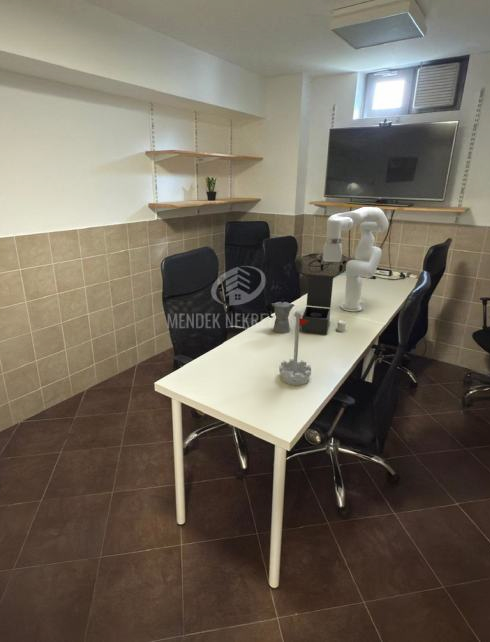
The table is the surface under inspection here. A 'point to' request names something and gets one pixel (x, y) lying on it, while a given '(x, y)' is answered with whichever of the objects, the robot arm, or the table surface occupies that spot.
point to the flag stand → (295, 360)
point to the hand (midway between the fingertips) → (331, 271)
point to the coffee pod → (341, 325)
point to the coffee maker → (316, 320)
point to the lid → (319, 290)
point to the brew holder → (315, 315)
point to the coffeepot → (280, 315)
